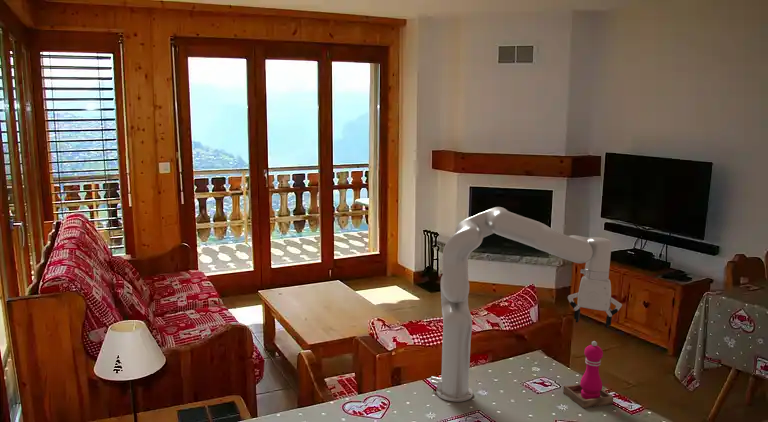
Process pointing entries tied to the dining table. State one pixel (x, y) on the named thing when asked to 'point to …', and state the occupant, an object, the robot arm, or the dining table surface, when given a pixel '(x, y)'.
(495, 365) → the dining table surface
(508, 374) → the dining table surface
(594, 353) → the magenta pepper mill
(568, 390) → the walnut tray
